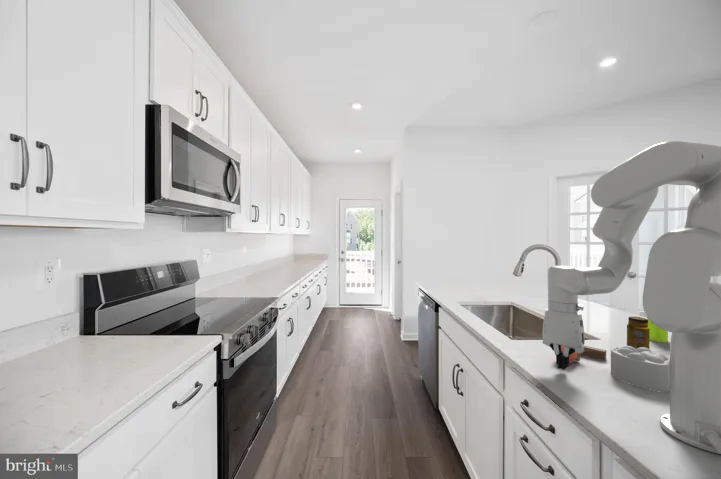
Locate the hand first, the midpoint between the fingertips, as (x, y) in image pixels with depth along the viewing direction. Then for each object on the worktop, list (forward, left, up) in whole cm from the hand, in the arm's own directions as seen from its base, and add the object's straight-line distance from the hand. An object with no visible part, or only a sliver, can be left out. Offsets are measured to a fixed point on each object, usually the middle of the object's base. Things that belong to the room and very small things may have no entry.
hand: (562, 367), depth 94 cm
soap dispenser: (+49, -39, -2) cm, 63 cm away
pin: (+11, -5, -1) cm, 12 cm away
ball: (+9, -2, +2) cm, 10 cm away
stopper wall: (+19, -9, -2) cm, 22 cm away
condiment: (+30, -27, -2) cm, 40 cm away
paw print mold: (+3, -19, -2) cm, 19 cm away
